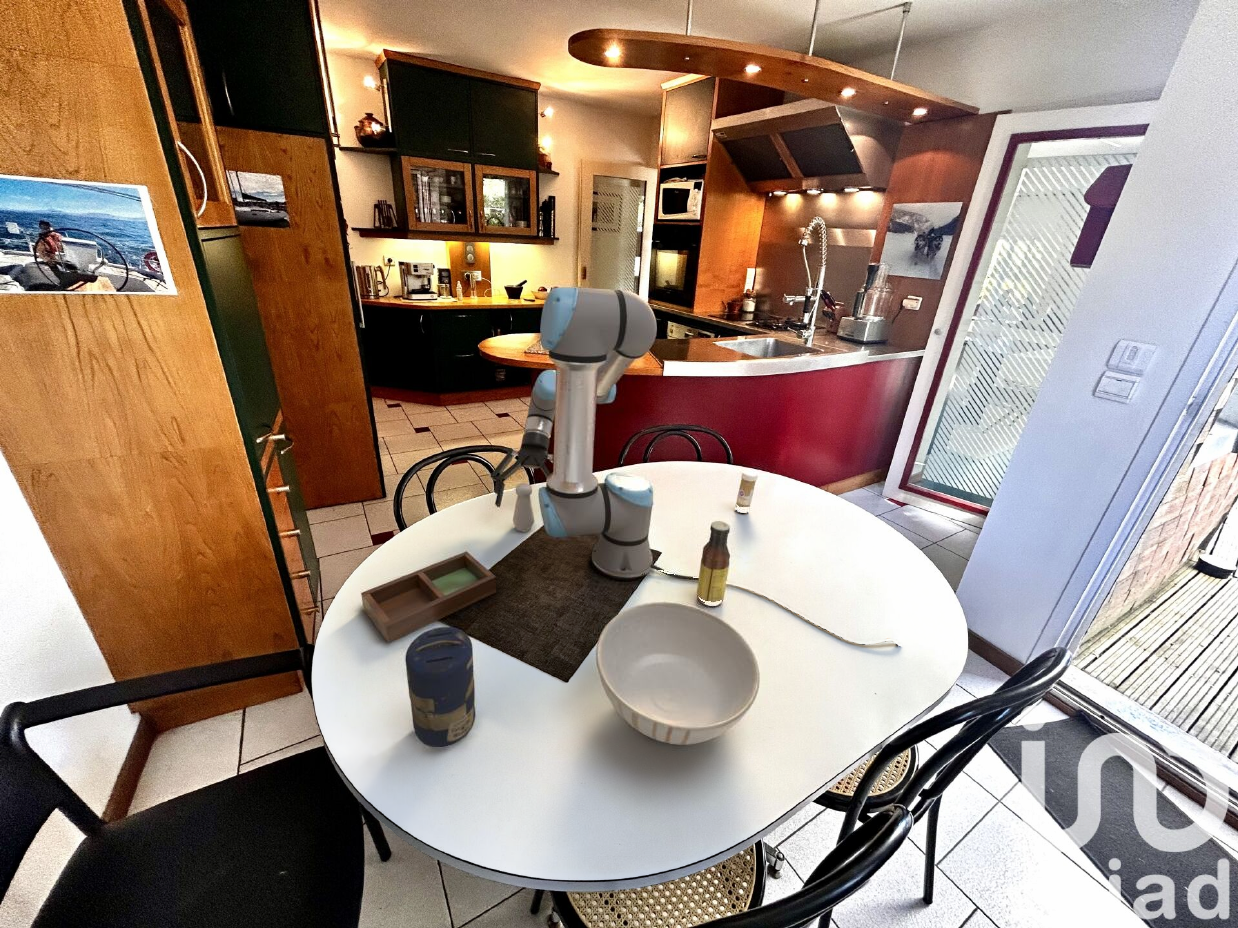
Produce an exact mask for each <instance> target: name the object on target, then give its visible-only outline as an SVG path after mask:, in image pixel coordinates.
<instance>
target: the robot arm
mask: <svg viewBox="0 0 1238 928" xmlns="http://www.w3.org/2000/svg"><path fill="white" fill-rule="evenodd" d="M546 295H547V296H546V297H545V300H544V304H543V308H542V311H541V317H540V328H539V330H540V337H539V339H540V346H541V348H542V349H544V350H546V351H548V359H549V360H550V361H551V362H552V363H553V364H554V365H555V369H546V370H544V371H542V372H541V373H540V374H539V375H538V377H537V378H536V381H535V383H534V385H533V388H532V391H531V395H530V401H529V406H528V411H527V417H526V421H525V425H524V430H523V434H522V439H521V444H520V448H519V450H516V449H513V448H512V447H509V448H508V450H507V452H506V455H505V456H504V457H503V458H502V460H501V461H500V462H499V463H498V465H497V466H496V467H495V469H494V470H493V471H492V472H491V473H490V478H491V479H492V481H495V486H494V490H493V492H494V494H495V495H496V498H495V504H494V506H496V508H501V504H502V501H503V500H502V499H503V495H504V492H505V491H504V490H505V486H506V484H505V482H506V480H508V479H509V478H510V477H512V476H513V475H514V474H515V473H516V472H518V470H520V469H522V468H524V467H525V468H527V469H530V468H531V469H535V470H536V469H537V470H538V469H540V470H541V471H542V473H543V474H544V475H545V477H546V481H545V486H542V487H540V488H538V493H537V494H538V496H537V497H538V504H539V509H540V515H541V521H542V523H543V527H544V529H545V533H546V534H547V535H548V536H549V537H551V538H555V539H556V538H567V539H568V538H569V537H578V536H579V537H580V536H587V535H595V534H599V536H598V537H597V539H596V542H595V545H594V547H593V548H592V552H591V565H592V566H593V568H594V570H595V571H596V572H598V573H599V574H600V575H602V576H604V577H606V578H609V579H612V580H616V581H634V580H638V579H642V578H643V577H645V576H646V575H648V574H649V573H650V572H651V570H652V569H653V570H655V569H656V570H655V571H658V570H663V571H664V570H665V569H664V568H662V567H660V566H657V565H655V564H653V561H654V559H653V553H652V551H651V545H650V541H649V540H650V539H649V533H650V528H651V519H652V512H653V506H654V487H653V486H652V484H651V483H650V482H649V481H648V480H646V479H645V478H643V477H641V476H639V475H637V474H633V473H630V472H624V471H615V472H611V473H609V474H607V475H606V476H605V478H604V482H599V479H598V477H596V475H594V474H593V467H594V466H593V465H594V448H595V447H594V446H595V430H596V412H597V405H603V404H611V403H613V402H614V400H615V398H616V393H617V385H616V384H617V383H618V381H619V380H620V379H621V378H622V377H623V375H624V374H625V373H626V371H627V370H628V369H629V368H630V366H631V365H632V364H633V363H634V362H635V361H636V360H638V359H641V358H642V357H644V356H645V355H646V354H647V353H648V352H649V350H651V348H652V346H653V345H654V343H655V340H656V337H657V329H658V327H657V320H656V319H657V318H656V316H655V314H654V311H653V309H652V308H651V306H650V305H649V303H648V302H647V301H646V300H645V299H643V297H641V296H640V295H638V294H637V293H635V292H632V291H629V290H626V289H605V288H593V287H578V286H563V287H562V286H561V287H559V286H558V287H554V288H552V289H551V290H550V291H549V292H548V294H546ZM553 424H554V429H553ZM552 430H554V433H553V453H552V454H551V453H550V454H549V453H548V451H549V446H550V441H551V440H550V438H551V436H552V432H553V431H552ZM516 456H518V459H516V460H515V461H514V463H512V465H510V466H509V464H510V463H511V462H512V461H513V459H515V458H516ZM548 460H549V461H550V463H552V465H553V470H552V471H553V472H551V471H549V469H548V468H547V466H546V464H545V463H546V462H547V461H548ZM508 466H509V467H508ZM507 467H508V468H507ZM506 468H507V469H506ZM505 469H506V470H505ZM550 472H551V473H550ZM659 572H660V573H662V574H664V575H666V576H667V577H671V578H674V579H679V580H684V581H685V580H686V581H696V582H698V579H699V578H693V577H694V576H689V575H683V574H677V573H673V574H667V573H664V572H661V571H659ZM644 573H645V574H644ZM642 574H643V575H642ZM674 574H675V575H674Z"/></svg>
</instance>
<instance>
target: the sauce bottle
mask: <svg viewBox="0 0 1238 928" xmlns="http://www.w3.org/2000/svg"><path fill="white" fill-rule="evenodd" d="M730 526H731V525H730V524H728V523H727V522H726V521H723V520H716V521H713V522H711V523H710V529H709V530H710V534H709V539H708V541H707V542H706V544H705V545H704V546H703V548H702V552H701V553H702V554H701V559H700V566H699V572H698V574H699V575H698V577H699V579H698V581H697V588H696V596H697V600H698V602H699V603H701V604H702V603H705V602H703V601H701V600H700V599H699V598H698V596H699V597H700V598H701V599H703V600H705V601H711V602H716V601H720V600H722V599H723V600H724V598H725V593H726V588H727V584H726V581H728V575H729V568H730V558H731V554H730V551H729V547H728V537H729V534H730V530H731V527H730ZM697 594H698V595H697Z"/></svg>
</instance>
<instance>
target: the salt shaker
mask: <svg viewBox="0 0 1238 928" xmlns="http://www.w3.org/2000/svg"><path fill="white" fill-rule="evenodd" d="M515 494H516V495H517V497H516V502H515V506H514V513H513V517H512V524H513V525H514V528H516V530H517V531H518V532H522V533H525V532H529V531H531V529H532V527H533V525H534V523H535V516H534V509H533V504H532V499H531V495H532V494H533V486H532V485H531V484H529V483H525V482H522V483H519V484H517V485H516V486H515Z"/></svg>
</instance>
